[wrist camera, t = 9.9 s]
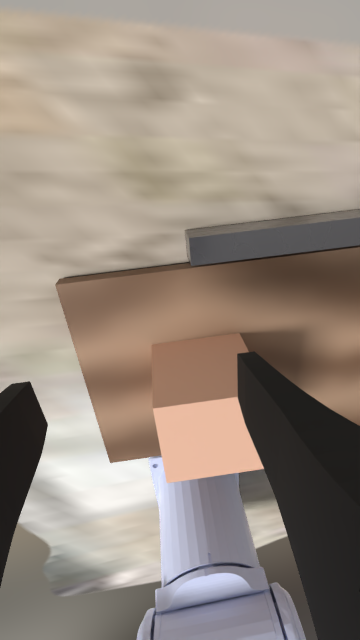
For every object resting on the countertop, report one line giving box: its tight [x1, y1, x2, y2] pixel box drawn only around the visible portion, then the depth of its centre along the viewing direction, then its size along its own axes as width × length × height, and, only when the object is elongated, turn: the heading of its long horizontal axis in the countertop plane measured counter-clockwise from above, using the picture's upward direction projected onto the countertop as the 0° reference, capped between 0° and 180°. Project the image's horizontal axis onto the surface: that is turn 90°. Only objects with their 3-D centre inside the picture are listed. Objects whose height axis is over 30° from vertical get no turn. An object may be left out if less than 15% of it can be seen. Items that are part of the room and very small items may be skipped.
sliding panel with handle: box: [56, 245, 360, 463], centre depth 21 cm, size 16×24×6 cm, turn 96°
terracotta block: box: [151, 333, 264, 483], centre depth 20 cm, size 6×6×6 cm
